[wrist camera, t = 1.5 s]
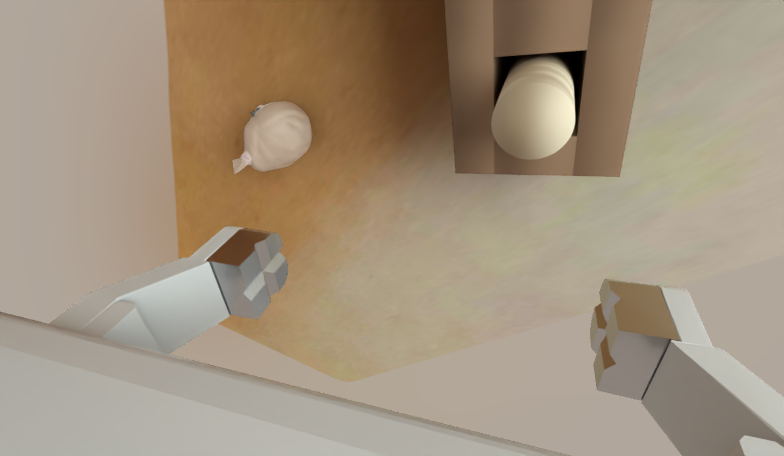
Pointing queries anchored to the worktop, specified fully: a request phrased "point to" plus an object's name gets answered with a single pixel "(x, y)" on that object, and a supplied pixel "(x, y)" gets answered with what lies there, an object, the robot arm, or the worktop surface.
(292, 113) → the garlic bulb
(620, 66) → the block
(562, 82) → the peg
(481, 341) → the worktop surface
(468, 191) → the worktop surface
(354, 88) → the worktop surface
